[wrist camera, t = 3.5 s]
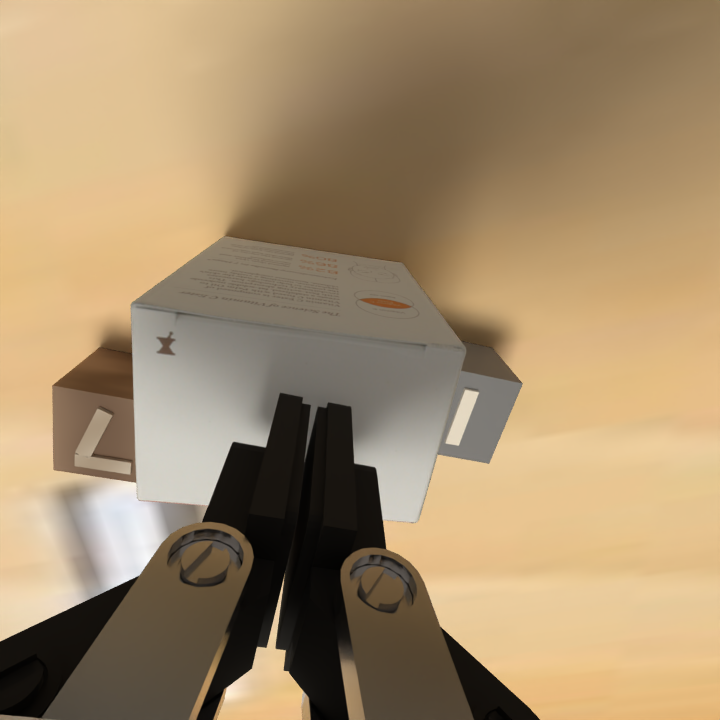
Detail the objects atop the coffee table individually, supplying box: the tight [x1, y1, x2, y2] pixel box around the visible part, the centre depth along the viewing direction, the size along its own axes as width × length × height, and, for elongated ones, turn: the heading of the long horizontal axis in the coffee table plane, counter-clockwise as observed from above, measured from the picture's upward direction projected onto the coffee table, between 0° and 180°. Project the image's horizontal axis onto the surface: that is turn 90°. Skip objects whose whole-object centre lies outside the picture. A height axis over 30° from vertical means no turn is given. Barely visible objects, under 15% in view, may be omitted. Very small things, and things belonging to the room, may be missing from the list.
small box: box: [131, 236, 466, 523], centre depth 16 cm, size 8×6×10 cm
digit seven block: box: [52, 348, 136, 482], centre depth 21 cm, size 4×4×4 cm
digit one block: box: [438, 341, 523, 464], centre depth 21 cm, size 4×4×4 cm
